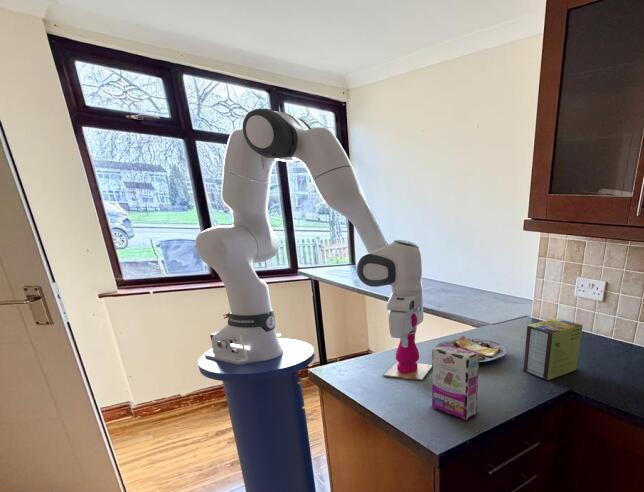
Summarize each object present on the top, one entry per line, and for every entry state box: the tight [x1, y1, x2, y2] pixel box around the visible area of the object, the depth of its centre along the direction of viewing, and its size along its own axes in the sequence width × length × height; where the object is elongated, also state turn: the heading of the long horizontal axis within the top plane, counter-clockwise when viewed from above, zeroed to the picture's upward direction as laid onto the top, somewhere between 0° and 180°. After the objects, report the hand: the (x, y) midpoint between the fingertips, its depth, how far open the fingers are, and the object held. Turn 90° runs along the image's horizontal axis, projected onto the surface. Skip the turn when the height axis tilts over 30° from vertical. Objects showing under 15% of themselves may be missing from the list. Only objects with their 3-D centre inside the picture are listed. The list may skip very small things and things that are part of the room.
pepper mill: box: [394, 313, 420, 373], centre depth 123 cm, size 7×7×20 cm
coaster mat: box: [383, 361, 432, 381], centre depth 127 cm, size 12×12×1 cm
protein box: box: [522, 317, 584, 381], centre depth 130 cm, size 10×15×16 cm
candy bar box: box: [431, 344, 480, 421], centre depth 101 cm, size 11×5×16 cm, turn 55°
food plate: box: [435, 335, 507, 363], centre depth 142 cm, size 25×23×4 cm
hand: (408, 343), depth 123 cm, fingers closed on pepper mill, 4 cm apart
